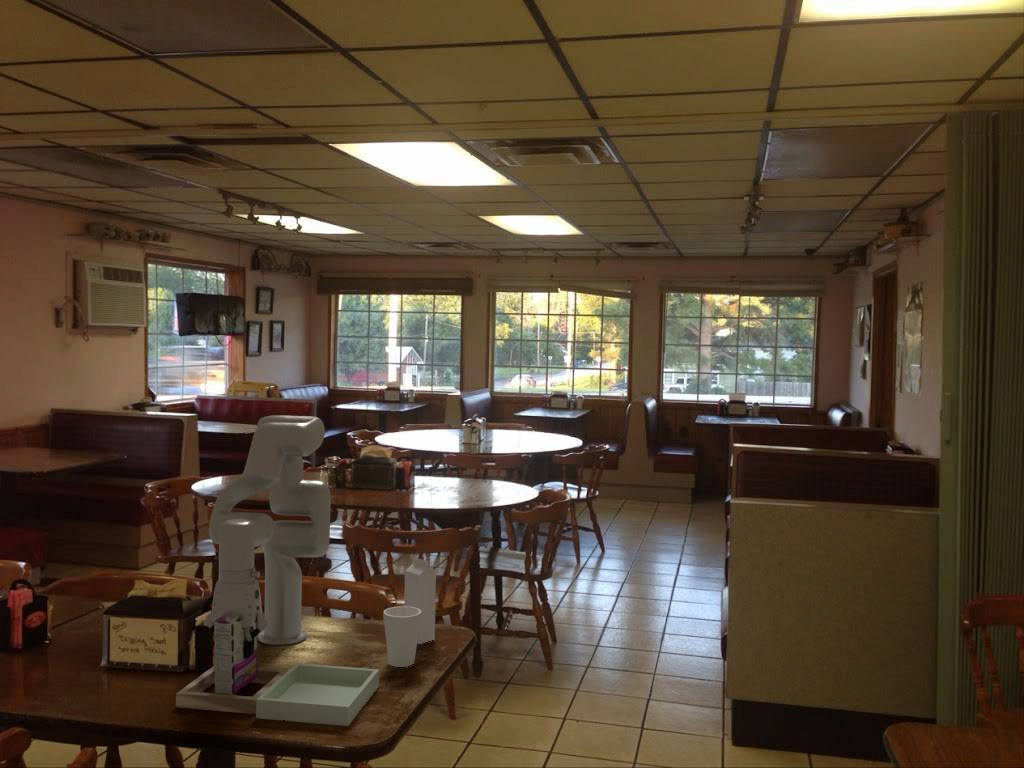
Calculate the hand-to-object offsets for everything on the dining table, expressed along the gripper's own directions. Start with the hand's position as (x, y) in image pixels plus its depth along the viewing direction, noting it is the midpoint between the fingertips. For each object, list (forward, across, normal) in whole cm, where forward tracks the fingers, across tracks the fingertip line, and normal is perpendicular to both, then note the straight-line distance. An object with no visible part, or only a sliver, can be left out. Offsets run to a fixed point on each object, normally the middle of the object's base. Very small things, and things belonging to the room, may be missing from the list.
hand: (236, 654), depth 197 cm
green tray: (+9, -20, +1) cm, 22 cm away
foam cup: (+9, -31, -26) cm, 42 cm away
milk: (+10, -31, -44) cm, 55 cm away
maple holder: (+9, 0, +1) cm, 9 cm away
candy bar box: (+7, 0, 0) cm, 7 cm away
